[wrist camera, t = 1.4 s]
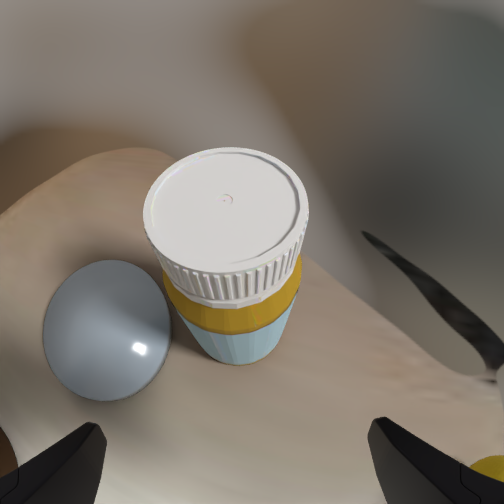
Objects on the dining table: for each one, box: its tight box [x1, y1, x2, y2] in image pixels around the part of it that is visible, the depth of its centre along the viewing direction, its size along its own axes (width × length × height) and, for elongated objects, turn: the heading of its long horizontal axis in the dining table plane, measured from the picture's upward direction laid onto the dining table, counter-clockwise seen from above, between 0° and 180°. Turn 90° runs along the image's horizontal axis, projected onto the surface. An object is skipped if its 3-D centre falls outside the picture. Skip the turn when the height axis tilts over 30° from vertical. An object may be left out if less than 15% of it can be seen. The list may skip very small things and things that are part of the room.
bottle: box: [143, 147, 309, 366], centre depth 17 cm, size 7×7×15 cm
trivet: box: [43, 260, 172, 401], centre depth 22 cm, size 13×13×1 cm
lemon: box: [469, 455, 504, 482], centre depth 10 cm, size 6×6×8 cm
